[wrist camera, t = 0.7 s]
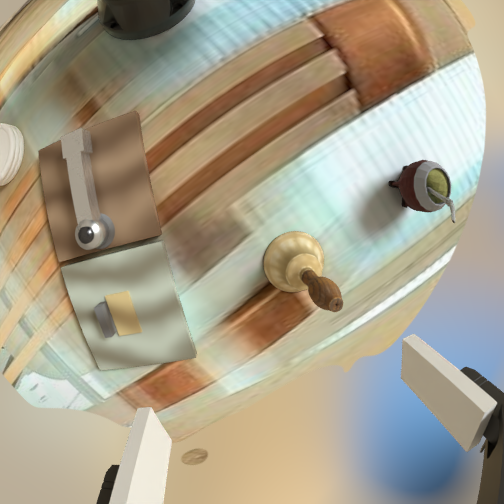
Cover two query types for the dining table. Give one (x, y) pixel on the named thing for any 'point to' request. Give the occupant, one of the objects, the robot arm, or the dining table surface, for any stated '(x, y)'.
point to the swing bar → (84, 190)
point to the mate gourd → (425, 187)
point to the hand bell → (301, 269)
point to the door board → (118, 253)
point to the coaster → (10, 152)
